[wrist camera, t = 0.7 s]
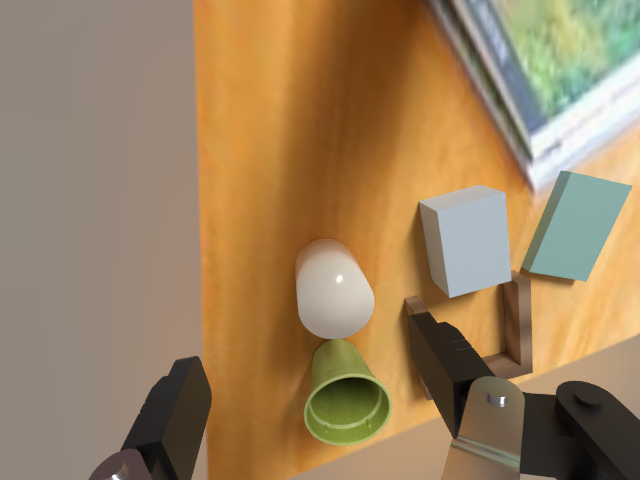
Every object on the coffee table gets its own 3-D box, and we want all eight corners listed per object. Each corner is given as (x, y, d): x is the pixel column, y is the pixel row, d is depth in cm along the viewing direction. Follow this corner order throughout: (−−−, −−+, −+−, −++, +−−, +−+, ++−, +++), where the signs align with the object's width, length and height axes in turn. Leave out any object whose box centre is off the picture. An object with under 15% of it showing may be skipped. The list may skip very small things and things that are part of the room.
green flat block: (557, 169, 39) (571, 172, 37) (615, 183, 40) (632, 185, 38) (518, 265, 42) (529, 271, 40) (573, 274, 43) (586, 281, 42)
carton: (418, 201, 38) (437, 211, 33) (477, 184, 38) (505, 192, 33) (430, 278, 41) (449, 298, 36) (485, 263, 41) (511, 280, 37)
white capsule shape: (315, 227, 37) (324, 257, 29) (366, 256, 39) (389, 292, 31) (283, 277, 39) (283, 320, 30) (334, 303, 41) (347, 350, 32)
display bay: (404, 298, 41) (413, 311, 39) (513, 270, 42) (530, 280, 39) (419, 383, 46) (427, 400, 43) (517, 357, 46) (532, 372, 43)
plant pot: (371, 321, 42) (392, 369, 34) (373, 382, 45) (393, 439, 37) (296, 331, 41) (299, 381, 33) (303, 392, 44) (308, 452, 36)
